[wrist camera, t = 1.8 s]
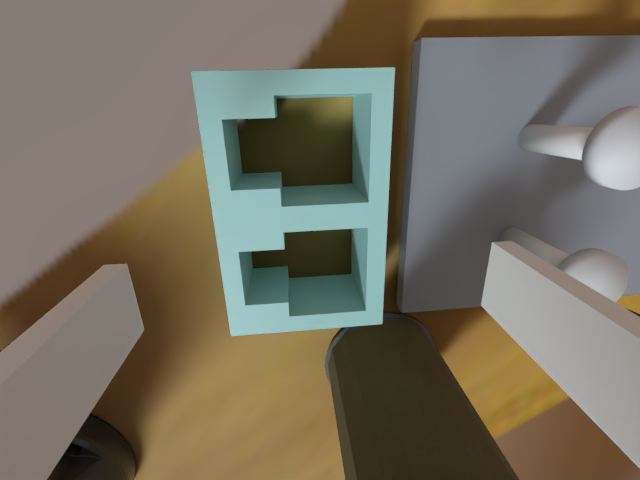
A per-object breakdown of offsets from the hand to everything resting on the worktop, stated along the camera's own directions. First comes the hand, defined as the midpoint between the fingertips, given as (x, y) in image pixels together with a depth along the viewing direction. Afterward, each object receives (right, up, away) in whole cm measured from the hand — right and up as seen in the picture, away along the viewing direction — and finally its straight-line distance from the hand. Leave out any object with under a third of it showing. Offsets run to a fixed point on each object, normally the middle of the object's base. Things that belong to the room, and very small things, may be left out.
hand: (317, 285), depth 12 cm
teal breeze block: (-1, +5, +13) cm, 14 cm away
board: (+17, +6, +14) cm, 23 cm away
